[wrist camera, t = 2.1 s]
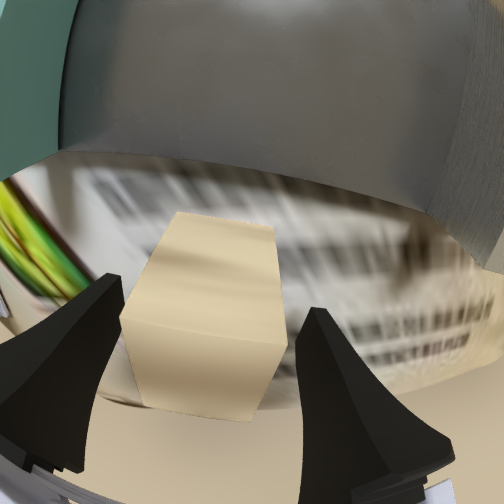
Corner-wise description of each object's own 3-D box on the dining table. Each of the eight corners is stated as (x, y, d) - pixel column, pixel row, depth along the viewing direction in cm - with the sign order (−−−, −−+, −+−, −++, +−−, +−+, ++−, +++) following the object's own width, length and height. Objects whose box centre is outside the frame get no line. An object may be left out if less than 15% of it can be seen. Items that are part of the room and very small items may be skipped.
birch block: (251, 313, 14) (249, 422, 9) (174, 301, 13) (143, 405, 8) (273, 226, 11) (287, 345, 6) (177, 211, 11) (119, 317, 6)
